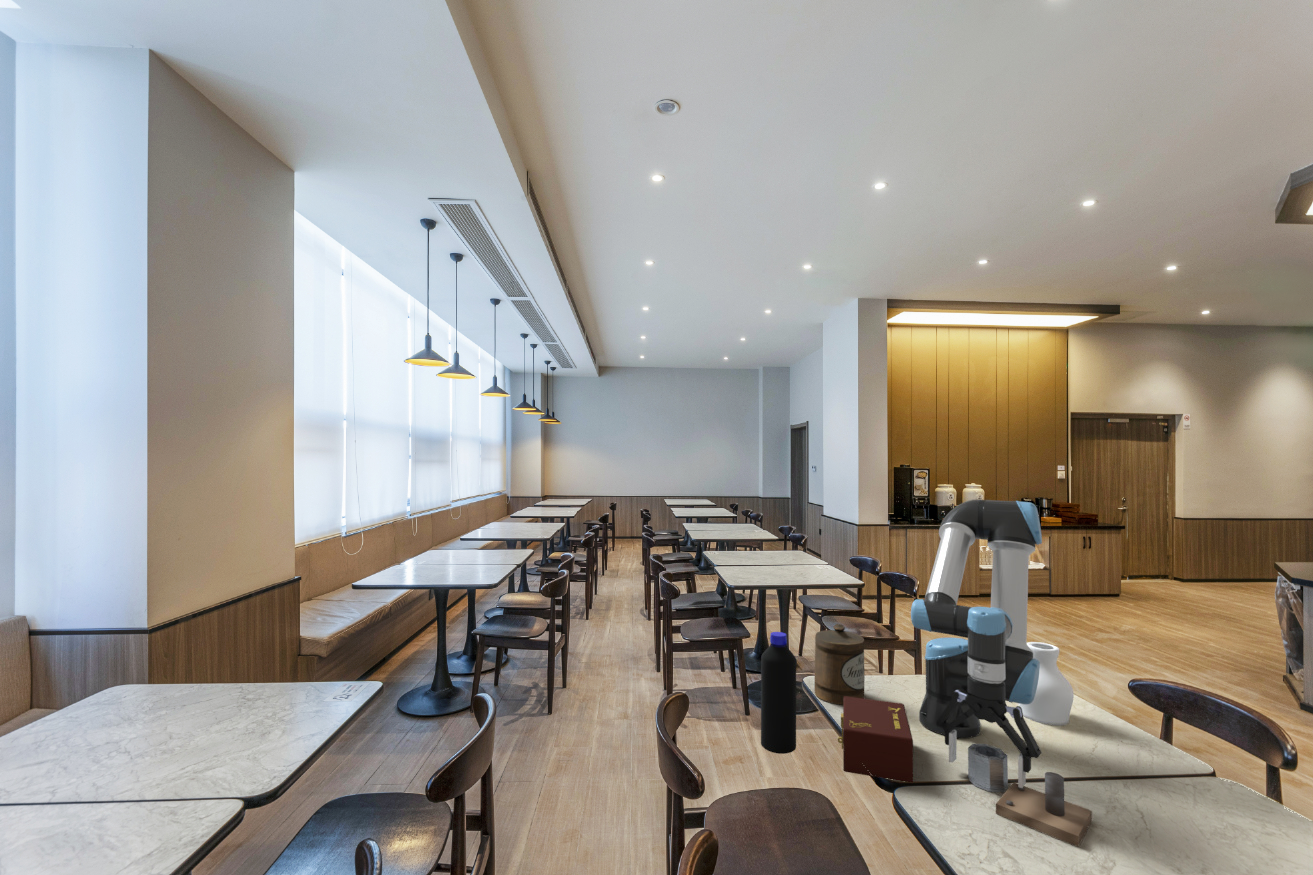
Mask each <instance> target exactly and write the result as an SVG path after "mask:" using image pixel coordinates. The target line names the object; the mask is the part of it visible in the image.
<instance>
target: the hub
mask: <svg viewBox="0 0 1313 875" xmlns="http://www.w3.org/2000/svg"><path fill="white" fill-rule="evenodd" d="M1008 758H1009V757H1008V754H1007V753H1006V752H1004V751H1003V750H1002V749H1001V748H999V747H996V746H993V745H990V744H987V743H972V744H970V745H969V746H968V748H967V760H968V761H967V764H968V765H967V768H968V774H967V775H968V776H967V777H968V779H967V780H969V781H970V782H971V784H972V785H973V786H974V787H976V788H979V789H981V790H984V791H987V792H989V793H1005V792H1006V791H1007V790H1008V788H1009V778H1008V777H1009V774H1008V773H1009V771H1008V770H1009V769H1008V768H1009V767H1008V763H1009V762H1008Z"/></svg>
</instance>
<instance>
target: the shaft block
mask: <svg viewBox="0 0 1313 875" xmlns="http://www.w3.org/2000/svg"><path fill="white" fill-rule="evenodd" d="M995 814H996V815H998V816H1001V817H1004V818H1005V819H1009V820H1011V821H1013V822H1015V823H1017V824H1021V825H1022V826H1025V827H1028V828H1030V829H1033V830H1035V831H1038V832H1040V833H1043V834H1045V835H1047V836H1050V837H1053V838H1055V839H1057V840H1060V841H1062V842H1064V843H1067V844H1070V845H1072V846H1075V847H1077V848H1079V847H1080V845H1081V843H1082V841H1083V839H1084V837H1085V835H1086V833H1087V831H1088V829H1089V827H1090V826H1091V824H1092V822H1093V810H1091V809H1089V808H1085V807H1083V806H1080V805H1077V804H1075V803H1073V802H1072V803H1071V802H1068V801H1067V800H1065V778H1064V776H1062V775H1061V774H1059V773H1056V772H1053V771H1046V772H1045V773H1044V792H1041V791H1039V790H1036V789H1033V788H1030V787H1028V786H1025V785H1024V787H1023V788H1020V787H1018V782H1012V783H1011V785H1010V786H1008V788H1007V789H1006V790H1005V791H1004V792H1003V794H1002V796H1001V797H999V799H998V800H997V801H996V803H995Z"/></svg>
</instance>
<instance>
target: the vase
mask: <svg viewBox="0 0 1313 875" xmlns="http://www.w3.org/2000/svg"><path fill="white" fill-rule="evenodd" d="M1027 645H1028V647H1029V648H1030V649H1031V650H1032V651H1033V659H1034V658H1035V659H1037V660H1038V661H1039V662H1040V669H1039V679H1038V685H1037V690H1036V694H1035V697H1034V700H1033V701H1032V703H1030V704H1020V703H1017V704H1018V705H1017V706H1020V707H1021V708H1022V712H1023V718H1026V719H1028V720H1030V721H1032V722H1035V723H1040V724H1042V725H1049V726H1066V725H1068V724H1069V722H1070V714H1071V710H1072V707H1073V703H1074V696H1075V695H1074V694H1075V693H1074V690H1073V686H1072V684H1071V683H1070V681H1069V680H1068V679H1067V678H1066V677H1065V676H1064V674H1063V673H1062V671H1061V670H1060V668H1059V667H1058V665H1057V664H1058V663H1057V661H1058V658H1059V655H1060V648H1059V647H1058V646H1056V645H1053V644H1050V643H1046V642H1040V641H1027Z"/></svg>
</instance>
